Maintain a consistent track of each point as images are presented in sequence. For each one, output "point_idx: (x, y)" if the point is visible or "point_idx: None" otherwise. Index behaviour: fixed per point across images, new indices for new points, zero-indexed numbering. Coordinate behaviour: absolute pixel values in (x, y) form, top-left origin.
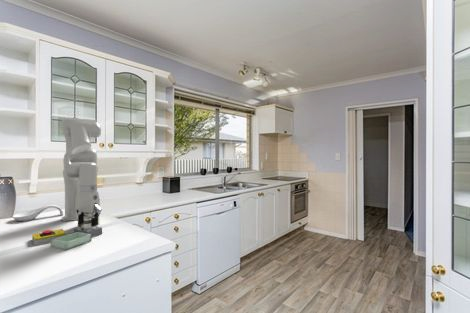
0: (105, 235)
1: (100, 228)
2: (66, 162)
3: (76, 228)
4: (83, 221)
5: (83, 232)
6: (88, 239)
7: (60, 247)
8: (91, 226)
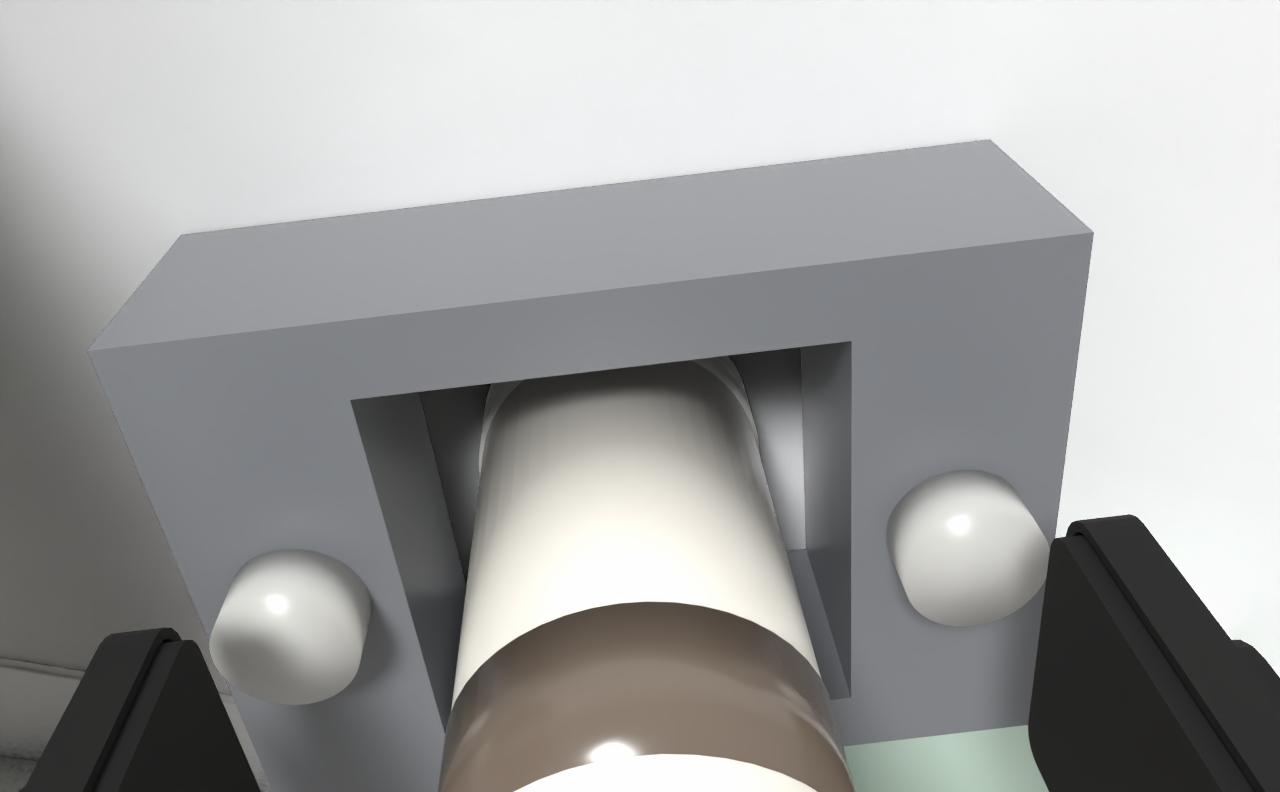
0: (1266, 187)
1: (1079, 302)
2: None
3: (259, 750)
4: (191, 764)
5: None
6: None
7: None
8: (790, 576)
